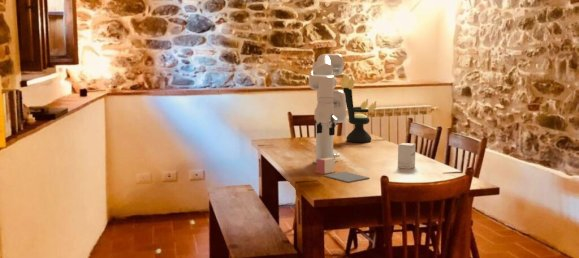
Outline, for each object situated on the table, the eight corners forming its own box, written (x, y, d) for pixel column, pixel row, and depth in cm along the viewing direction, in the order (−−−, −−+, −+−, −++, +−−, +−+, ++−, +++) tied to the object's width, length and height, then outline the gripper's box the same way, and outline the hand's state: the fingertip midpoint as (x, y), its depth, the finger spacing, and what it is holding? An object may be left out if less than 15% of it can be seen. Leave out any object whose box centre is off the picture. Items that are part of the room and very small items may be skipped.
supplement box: (410, 169, 323) (411, 145, 321) (397, 167, 326) (397, 144, 325) (415, 166, 329) (416, 143, 327) (402, 165, 333) (402, 142, 331)
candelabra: (376, 142, 407) (377, 74, 401) (344, 144, 402) (345, 75, 396) (366, 138, 425) (367, 73, 419) (336, 139, 420) (336, 73, 414)
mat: (344, 172, 315) (344, 171, 315) (369, 178, 300) (369, 177, 300) (323, 176, 306) (323, 175, 306) (348, 182, 292) (348, 181, 292)
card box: (328, 170, 320) (328, 157, 319) (334, 171, 317) (334, 158, 316) (316, 172, 316) (316, 159, 315) (322, 174, 312) (322, 160, 311)
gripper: (309, 99, 316) (309, 132, 318) (331, 102, 302) (331, 136, 304) (320, 99, 320) (320, 131, 322) (342, 101, 306) (342, 135, 309)
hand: (325, 134), depth 313 cm, fingers open, 9 cm apart
